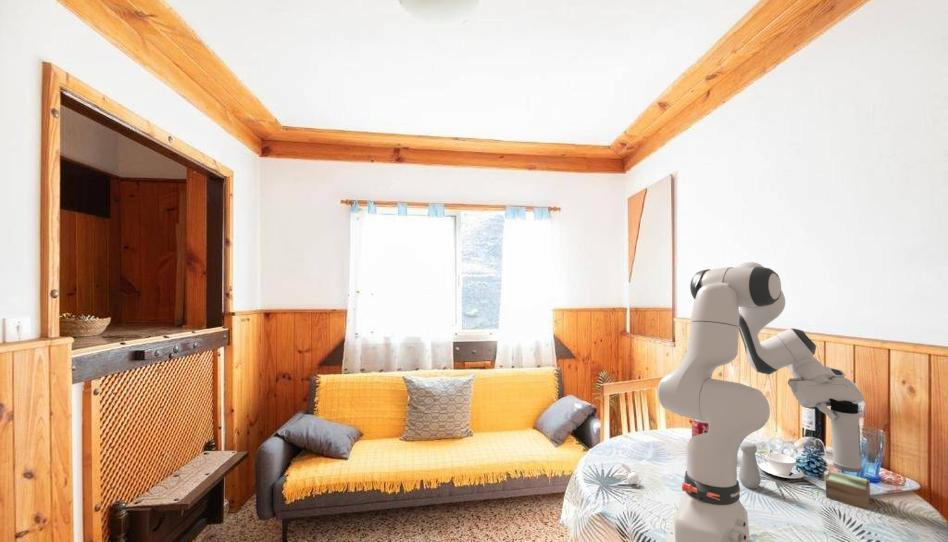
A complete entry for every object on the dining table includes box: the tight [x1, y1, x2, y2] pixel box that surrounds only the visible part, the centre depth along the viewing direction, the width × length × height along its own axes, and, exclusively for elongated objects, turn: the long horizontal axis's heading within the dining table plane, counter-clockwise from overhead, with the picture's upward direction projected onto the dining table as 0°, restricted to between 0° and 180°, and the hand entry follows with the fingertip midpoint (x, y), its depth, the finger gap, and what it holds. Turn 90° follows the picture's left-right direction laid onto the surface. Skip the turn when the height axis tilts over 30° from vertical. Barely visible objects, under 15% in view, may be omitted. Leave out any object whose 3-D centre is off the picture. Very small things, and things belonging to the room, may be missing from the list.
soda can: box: [691, 419, 709, 438], centre depth 155 cm, size 7×7×12 cm
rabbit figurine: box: [613, 460, 642, 488], centre depth 131 cm, size 6×4×8 cm
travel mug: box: [829, 398, 863, 473], centre depth 122 cm, size 6×7×20 cm
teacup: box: [758, 452, 805, 479], centre depth 137 cm, size 12×12×5 cm
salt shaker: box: [738, 441, 762, 490], centre depth 129 cm, size 6×6×13 cm
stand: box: [825, 470, 871, 510], centre depth 121 cm, size 9×9×5 cm
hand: (846, 418), depth 121 cm, fingers closed on travel mug, 6 cm apart
